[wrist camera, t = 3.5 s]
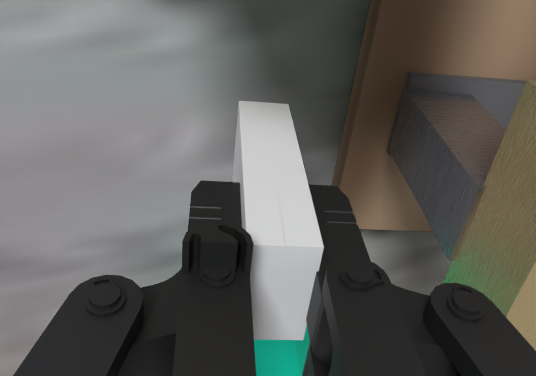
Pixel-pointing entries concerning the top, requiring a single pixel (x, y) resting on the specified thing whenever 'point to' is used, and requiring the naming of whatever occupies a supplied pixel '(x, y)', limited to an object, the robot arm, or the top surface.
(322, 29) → the top surface
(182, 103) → the top surface
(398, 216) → the board
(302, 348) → the candle
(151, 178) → the top surface
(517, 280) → the t key
